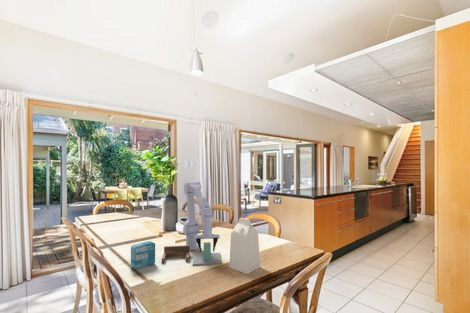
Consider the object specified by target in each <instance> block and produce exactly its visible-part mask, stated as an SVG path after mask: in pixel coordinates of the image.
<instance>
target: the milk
mask: <svg viewBox="0 0 470 313" xmlns="http://www.w3.org/2000/svg"><path fill="white" fill-rule="evenodd" d="M230 233H231V234H230V249H229V268H230V269H232V270H233V271H234V270H235V271H236V272H240V273H242V274H246V275H248V274H250V273H252V272H254V271H256V270H257V269H259V268H261V257H260V256H261V255H260V240H259V232H258V230H257V229H256V228H255V226H253V225H252V222H251V220H250V218H244V217H239V218H238V223H237V224H236V225H235V227H234V228H233V229H232V231H231V232H230ZM255 269H256V270H255ZM253 270H254V271H253Z"/></svg>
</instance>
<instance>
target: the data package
mask: <svg viewBox="0 0 470 313" xmlns="http://www.w3.org/2000/svg"><path fill="white" fill-rule="evenodd" d="M155 263H156V243H155V242H153V241H150V240H148V241H144V242H139V243H136V244H135V243H134V244H132V245H131V247H130V267H132V269H134V270H139V269H143V268H145V267H149V266H153V265H154V264H155Z"/></svg>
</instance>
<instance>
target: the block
mask: <svg viewBox="0 0 470 313" xmlns="http://www.w3.org/2000/svg"><path fill="white" fill-rule="evenodd" d="M211 248H212V244H211V242H210V241H208V242H203V253H204V260H211V253H212V252H211V250H212V249H211Z"/></svg>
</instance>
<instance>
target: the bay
mask: <svg viewBox="0 0 470 313" xmlns="http://www.w3.org/2000/svg"><path fill="white" fill-rule="evenodd" d="M190 251H191V250H190V245H186V244H185V245H167V246H164V247H163V252H164V253H163V254H162V257H161V264H165V262H166V260H167V258H179V257H181V258H182V257H185V262H186V263H189V261H190V257H191V256H190V255H191V254H190V253H191V252H190Z"/></svg>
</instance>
